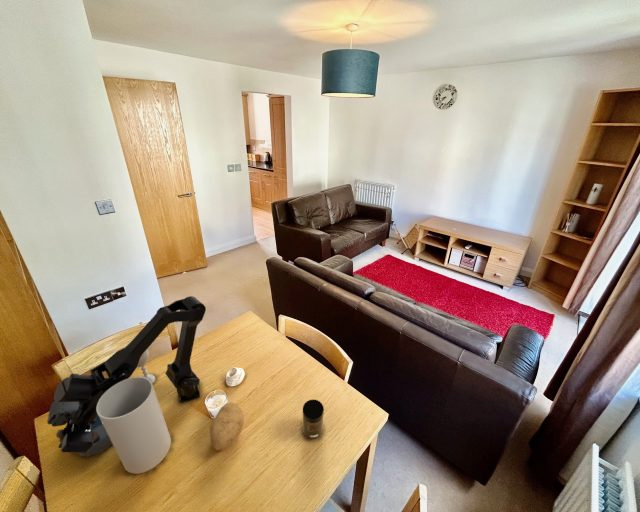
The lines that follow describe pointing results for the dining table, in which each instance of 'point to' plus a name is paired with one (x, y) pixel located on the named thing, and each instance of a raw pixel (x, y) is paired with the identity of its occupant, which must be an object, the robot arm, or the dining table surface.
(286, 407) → the dining table surface
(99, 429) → the bowl
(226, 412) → the potato
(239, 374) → the whipped cream
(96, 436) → the ladle
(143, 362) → the chalice
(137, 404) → the cylinder vase
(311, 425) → the supplement container
